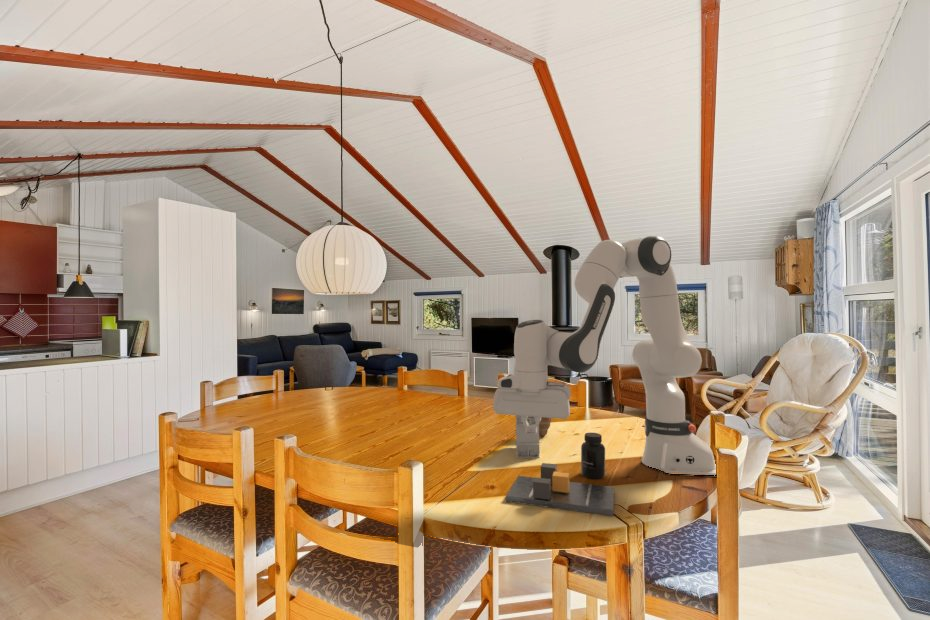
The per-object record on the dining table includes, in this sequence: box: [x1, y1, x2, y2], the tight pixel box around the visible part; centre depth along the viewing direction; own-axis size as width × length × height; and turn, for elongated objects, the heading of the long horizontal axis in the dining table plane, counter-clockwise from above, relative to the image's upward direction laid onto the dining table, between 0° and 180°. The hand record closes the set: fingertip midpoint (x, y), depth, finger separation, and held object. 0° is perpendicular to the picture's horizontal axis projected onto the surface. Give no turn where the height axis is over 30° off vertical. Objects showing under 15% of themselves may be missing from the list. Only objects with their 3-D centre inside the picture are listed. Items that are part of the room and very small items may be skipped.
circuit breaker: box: [515, 415, 541, 459], centre depth 152 cm, size 8×14×15 cm, turn 174°
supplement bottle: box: [580, 432, 606, 480], centre depth 129 cm, size 7×7×12 cm
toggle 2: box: [533, 476, 551, 500], centre depth 111 cm, size 4×3×4 cm
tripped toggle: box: [552, 471, 570, 493], centre depth 114 cm, size 4×3×4 cm
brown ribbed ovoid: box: [539, 417, 553, 437], centre depth 169 cm, size 9×8×18 cm
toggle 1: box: [540, 462, 558, 482], centre depth 121 cm, size 4×3×4 cm
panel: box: [505, 475, 615, 517], centre depth 114 cm, size 26×14×2 cm, turn 70°
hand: (531, 432), depth 117 cm, fingers closed
